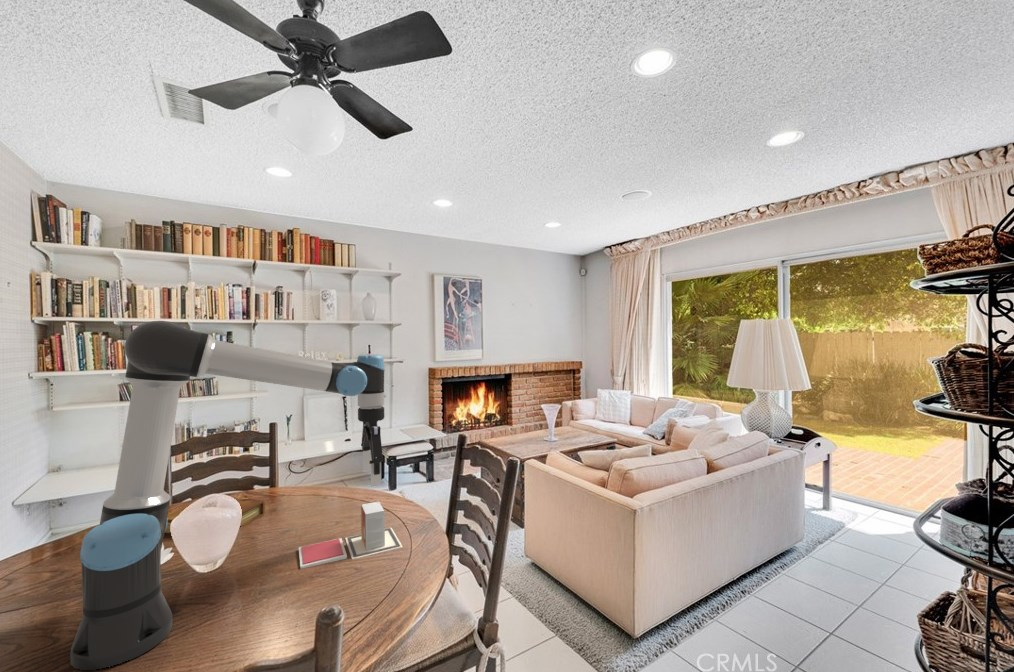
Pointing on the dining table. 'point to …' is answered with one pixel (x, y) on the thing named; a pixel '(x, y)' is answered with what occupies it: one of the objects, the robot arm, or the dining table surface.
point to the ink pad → (322, 553)
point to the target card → (359, 550)
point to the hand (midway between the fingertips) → (371, 478)
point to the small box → (372, 525)
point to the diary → (249, 508)
